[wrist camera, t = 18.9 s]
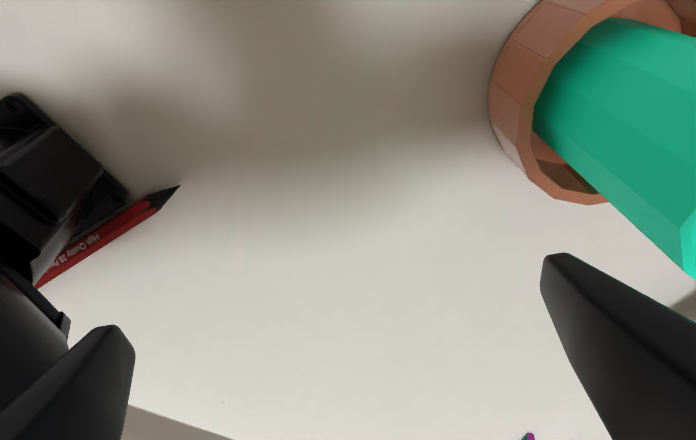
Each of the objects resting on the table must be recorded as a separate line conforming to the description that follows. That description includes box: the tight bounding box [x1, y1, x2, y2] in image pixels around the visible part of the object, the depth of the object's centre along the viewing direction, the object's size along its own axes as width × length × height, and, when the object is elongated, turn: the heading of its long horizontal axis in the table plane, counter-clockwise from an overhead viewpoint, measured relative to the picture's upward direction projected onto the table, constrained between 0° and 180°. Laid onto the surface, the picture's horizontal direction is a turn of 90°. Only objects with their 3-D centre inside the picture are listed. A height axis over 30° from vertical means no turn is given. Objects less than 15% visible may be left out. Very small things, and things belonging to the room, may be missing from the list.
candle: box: [532, 17, 696, 280], centre depth 15 cm, size 6×6×12 cm
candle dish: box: [488, 0, 696, 205], centre depth 18 cm, size 9×9×4 cm
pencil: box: [34, 185, 180, 289], centre depth 23 cm, size 1×14×1 cm, turn 122°
